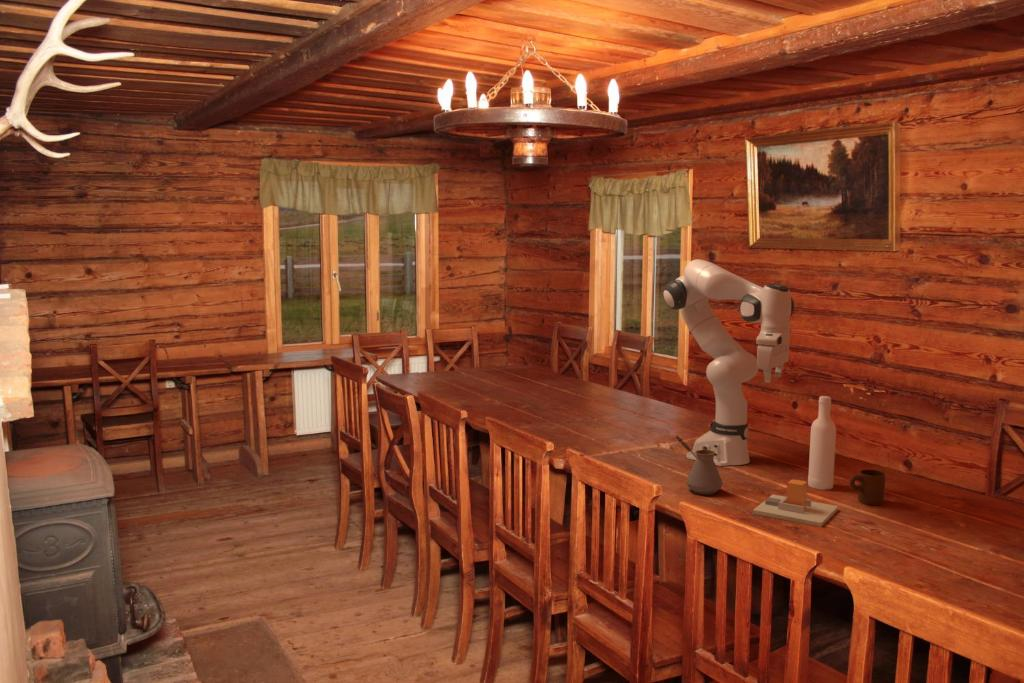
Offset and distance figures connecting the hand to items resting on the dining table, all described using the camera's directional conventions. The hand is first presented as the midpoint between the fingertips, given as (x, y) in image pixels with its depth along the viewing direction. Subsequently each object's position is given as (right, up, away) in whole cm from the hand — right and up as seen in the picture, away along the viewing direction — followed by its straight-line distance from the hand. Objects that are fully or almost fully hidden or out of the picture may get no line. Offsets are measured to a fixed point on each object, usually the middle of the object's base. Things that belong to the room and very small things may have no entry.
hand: (772, 379), depth 282 cm
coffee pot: (-22, -36, +12) cm, 44 cm away
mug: (+27, -38, -4) cm, 47 cm away
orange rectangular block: (+3, -38, -13) cm, 40 cm away
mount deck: (+3, -39, -13) cm, 41 cm away
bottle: (+19, -36, +13) cm, 43 cm away
